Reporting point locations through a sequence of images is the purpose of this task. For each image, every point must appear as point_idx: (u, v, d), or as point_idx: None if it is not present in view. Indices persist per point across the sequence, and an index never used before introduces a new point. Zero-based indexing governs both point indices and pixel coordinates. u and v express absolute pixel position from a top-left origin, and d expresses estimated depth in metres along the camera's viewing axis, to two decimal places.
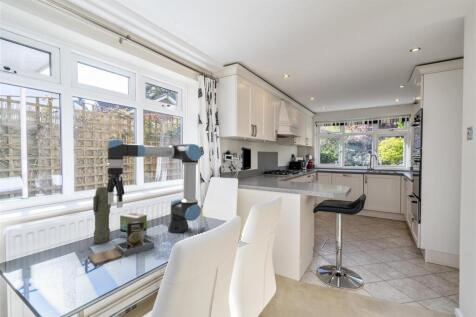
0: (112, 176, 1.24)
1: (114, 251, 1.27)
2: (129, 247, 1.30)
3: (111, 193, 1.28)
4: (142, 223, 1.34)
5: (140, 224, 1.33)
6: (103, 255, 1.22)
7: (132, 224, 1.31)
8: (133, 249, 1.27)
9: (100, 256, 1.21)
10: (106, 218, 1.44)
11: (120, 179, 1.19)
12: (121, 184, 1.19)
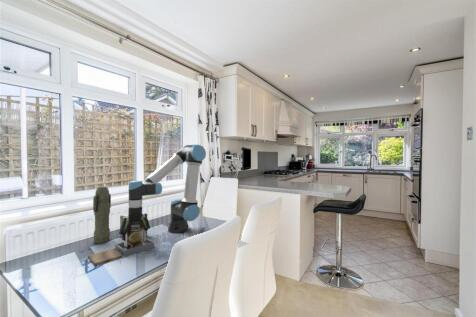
0: None
1: (114, 251, 1.27)
2: (129, 247, 1.30)
3: None
4: (142, 223, 1.33)
5: (140, 224, 1.33)
6: (103, 255, 1.22)
7: (132, 224, 1.31)
8: (133, 249, 1.27)
9: (100, 256, 1.21)
10: (106, 218, 1.44)
11: (123, 220, 1.29)
12: (122, 225, 1.29)
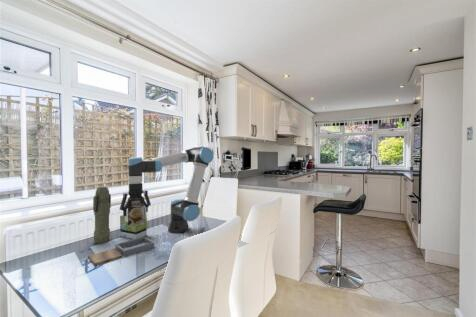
0: None
1: (114, 251, 1.27)
2: (130, 223, 1.31)
3: (144, 208, 1.38)
4: (142, 199, 1.34)
5: (141, 200, 1.33)
6: (103, 255, 1.22)
7: (133, 200, 1.31)
8: (133, 249, 1.27)
9: (100, 256, 1.21)
10: (106, 218, 1.44)
11: (124, 195, 1.29)
12: (123, 200, 1.29)
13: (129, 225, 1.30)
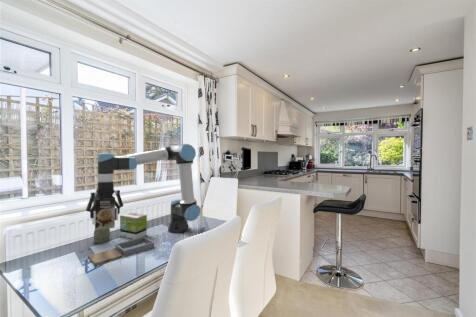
0: None
1: (114, 251, 1.27)
2: (98, 225, 1.17)
3: (115, 209, 1.25)
4: (113, 199, 1.21)
5: (111, 200, 1.20)
6: (103, 255, 1.22)
7: (101, 200, 1.18)
8: (133, 249, 1.27)
9: (100, 256, 1.21)
10: None
11: (91, 195, 1.16)
12: (90, 200, 1.16)
13: (97, 228, 1.17)
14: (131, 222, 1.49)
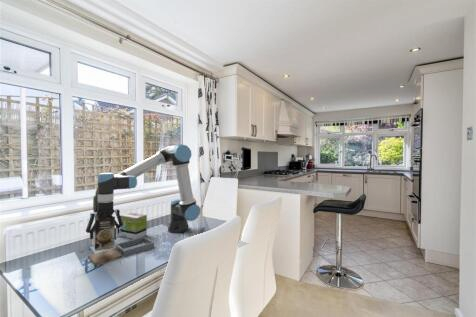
0: None
1: (114, 251, 1.27)
2: (97, 246, 1.17)
3: (115, 229, 1.25)
4: (113, 220, 1.21)
5: (110, 221, 1.20)
6: (103, 255, 1.22)
7: (101, 221, 1.18)
8: (133, 249, 1.27)
9: (100, 256, 1.21)
10: None
11: (91, 216, 1.16)
12: (89, 221, 1.16)
13: (96, 249, 1.17)
14: (131, 222, 1.49)
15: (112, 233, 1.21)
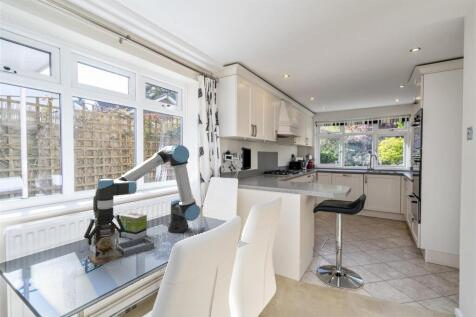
0: None
1: None
2: (98, 254, 1.18)
3: (117, 233, 1.26)
4: (113, 227, 1.21)
5: (111, 229, 1.20)
6: None
7: (101, 229, 1.18)
8: (133, 249, 1.27)
9: None
10: None
11: (91, 222, 1.16)
12: (89, 227, 1.16)
13: (97, 257, 1.17)
14: (131, 222, 1.49)
15: (113, 241, 1.21)
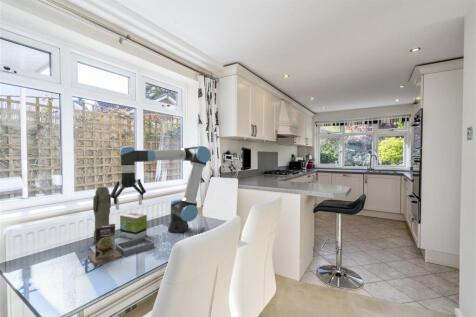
0: None
1: None
2: (98, 254, 1.18)
3: (139, 195, 1.40)
4: (113, 227, 1.21)
5: (111, 229, 1.20)
6: None
7: (101, 229, 1.18)
8: (133, 249, 1.27)
9: None
10: (106, 218, 1.44)
11: (116, 183, 1.29)
12: (114, 188, 1.29)
13: (97, 257, 1.17)
14: (131, 222, 1.49)
15: (112, 241, 1.21)
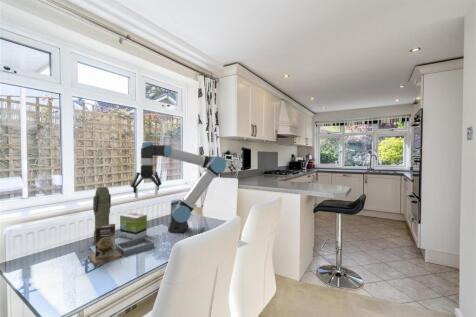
0: None
1: None
2: (98, 254, 1.18)
3: (155, 186, 1.53)
4: (113, 227, 1.21)
5: (111, 229, 1.20)
6: None
7: (101, 229, 1.18)
8: (133, 249, 1.27)
9: None
10: (106, 218, 1.44)
11: (136, 174, 1.43)
12: (134, 178, 1.42)
13: (97, 257, 1.17)
14: (131, 222, 1.49)
15: (112, 241, 1.21)
